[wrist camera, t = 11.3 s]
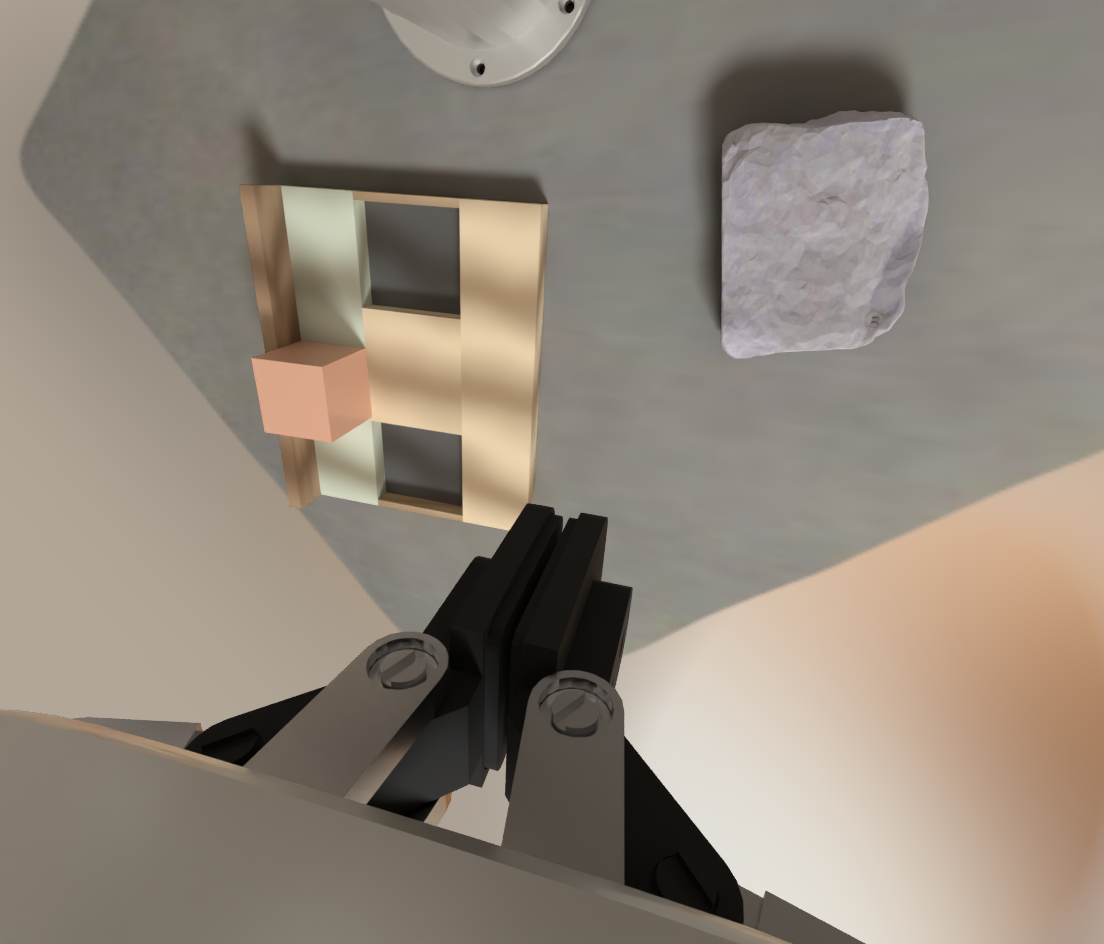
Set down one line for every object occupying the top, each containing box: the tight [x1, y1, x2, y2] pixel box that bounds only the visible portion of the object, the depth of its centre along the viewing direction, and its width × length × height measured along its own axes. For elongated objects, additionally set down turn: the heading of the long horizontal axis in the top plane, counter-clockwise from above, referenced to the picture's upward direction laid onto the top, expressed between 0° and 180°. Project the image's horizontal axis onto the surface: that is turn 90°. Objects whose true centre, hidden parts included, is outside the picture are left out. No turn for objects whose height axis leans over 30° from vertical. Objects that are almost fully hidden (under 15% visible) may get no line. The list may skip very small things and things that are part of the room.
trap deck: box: [239, 184, 548, 530], centre depth 40 cm, size 22×18×4 cm
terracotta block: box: [252, 341, 372, 443], centre depth 40 cm, size 5×5×5 cm
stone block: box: [721, 110, 929, 359], centre depth 31 cm, size 12×5×10 cm
